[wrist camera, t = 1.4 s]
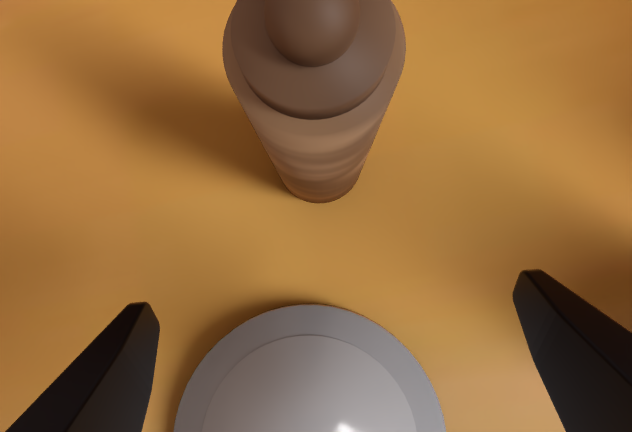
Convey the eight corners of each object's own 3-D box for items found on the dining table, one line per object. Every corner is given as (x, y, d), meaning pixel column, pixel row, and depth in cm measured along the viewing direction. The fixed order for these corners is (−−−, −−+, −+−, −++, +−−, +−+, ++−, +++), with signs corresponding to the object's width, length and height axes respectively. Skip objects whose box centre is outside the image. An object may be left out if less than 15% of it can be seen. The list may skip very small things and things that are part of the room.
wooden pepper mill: (308, 219, 22) (279, 144, 8) (261, 151, 23) (147, -42, 8) (378, 171, 23) (478, 8, 8) (329, 105, 23) (339, -166, 8)
